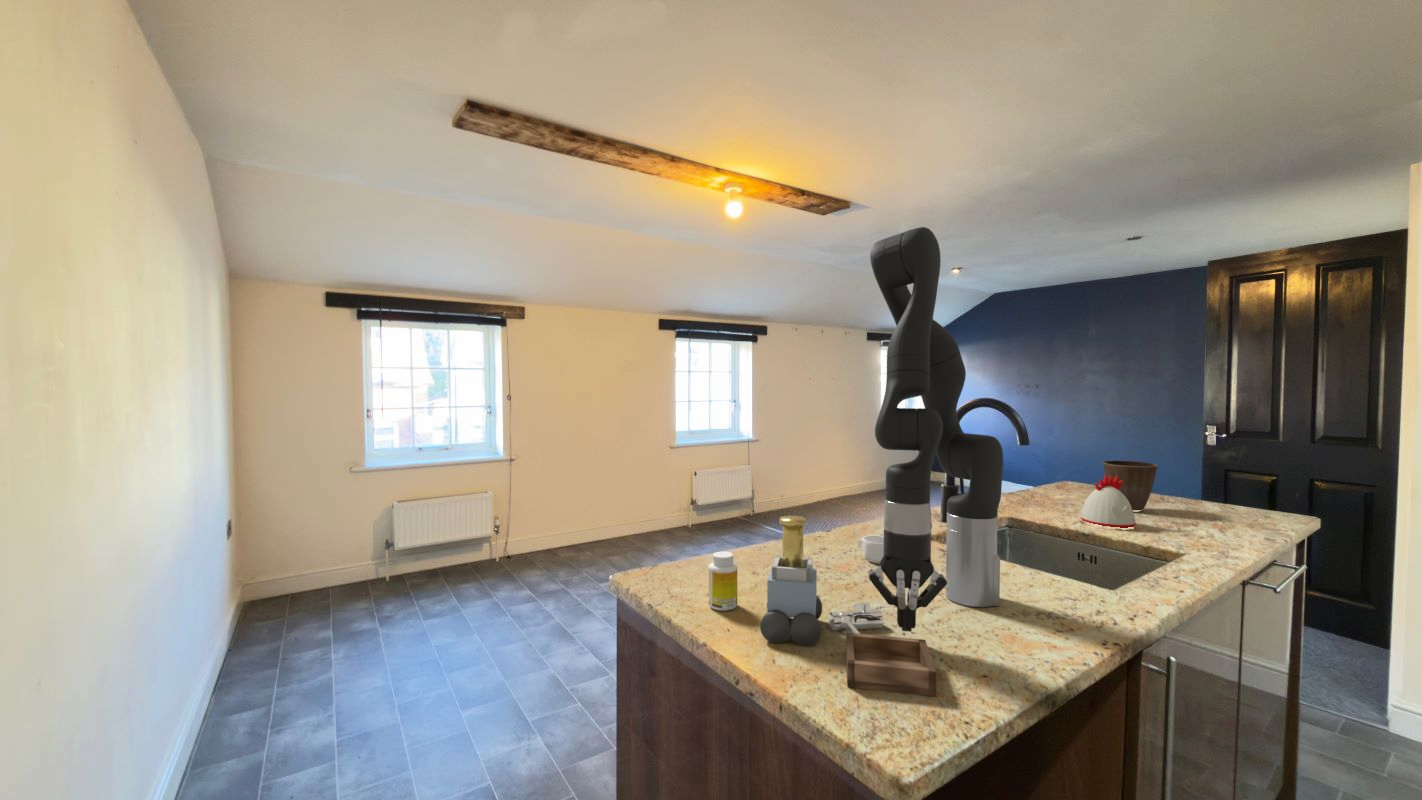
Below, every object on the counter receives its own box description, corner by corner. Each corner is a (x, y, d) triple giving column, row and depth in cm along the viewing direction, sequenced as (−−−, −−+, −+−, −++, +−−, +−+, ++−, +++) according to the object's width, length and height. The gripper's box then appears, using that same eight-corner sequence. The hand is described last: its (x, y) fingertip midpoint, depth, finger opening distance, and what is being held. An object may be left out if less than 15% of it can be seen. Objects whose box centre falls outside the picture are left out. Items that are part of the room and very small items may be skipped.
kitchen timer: (1147, 530, 167) (1148, 479, 166) (1099, 530, 167) (1100, 479, 166) (1114, 519, 181) (1115, 472, 180) (1070, 519, 181) (1071, 472, 180)
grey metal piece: (875, 623, 104) (828, 626, 102) (876, 599, 103) (828, 601, 102) (900, 651, 94) (848, 654, 93) (901, 625, 93) (849, 628, 92)
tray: (924, 661, 89) (925, 639, 88) (936, 696, 79) (936, 671, 79) (845, 654, 91) (846, 632, 91) (847, 686, 81) (847, 662, 81)
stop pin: (806, 570, 101) (806, 516, 101) (805, 579, 97) (805, 522, 96) (780, 568, 102) (780, 515, 102) (778, 577, 98) (778, 521, 97)
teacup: (902, 562, 138) (902, 540, 138) (883, 568, 133) (883, 545, 133) (867, 552, 146) (867, 531, 145) (848, 558, 141) (848, 536, 141)
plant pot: (1115, 514, 187) (1116, 466, 186) (1093, 504, 202) (1094, 459, 201) (1166, 516, 184) (1167, 467, 184) (1140, 506, 199) (1141, 460, 199)
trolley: (822, 619, 104) (822, 555, 104) (820, 647, 93) (821, 575, 93) (767, 615, 106) (767, 551, 106) (760, 641, 95) (760, 571, 95)
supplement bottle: (742, 608, 109) (742, 556, 109) (716, 614, 107) (716, 560, 107) (729, 598, 114) (729, 548, 114) (704, 603, 112) (704, 552, 112)
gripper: (944, 523, 97) (943, 623, 98) (864, 520, 100) (863, 617, 100) (954, 535, 90) (952, 643, 91) (868, 530, 93) (866, 635, 93)
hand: (905, 629), depth 96 cm, fingers closed
